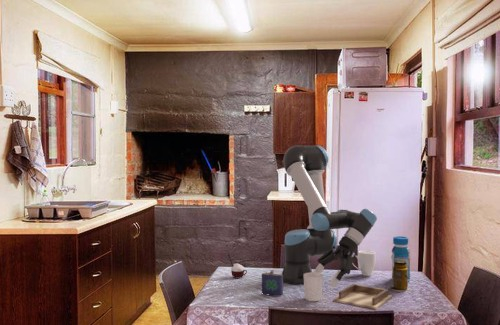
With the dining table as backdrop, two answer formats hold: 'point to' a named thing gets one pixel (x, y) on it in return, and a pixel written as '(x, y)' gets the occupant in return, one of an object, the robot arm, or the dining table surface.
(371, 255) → the mug
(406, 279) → the condiment
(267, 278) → the flask
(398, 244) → the beverage bottle
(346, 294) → the dock
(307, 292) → the white cup
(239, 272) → the cocoa
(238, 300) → the dining table surface
